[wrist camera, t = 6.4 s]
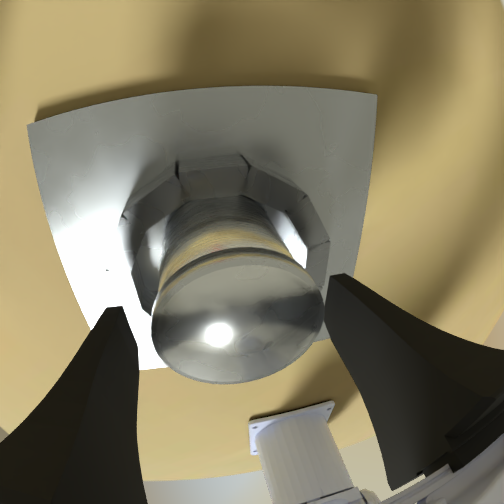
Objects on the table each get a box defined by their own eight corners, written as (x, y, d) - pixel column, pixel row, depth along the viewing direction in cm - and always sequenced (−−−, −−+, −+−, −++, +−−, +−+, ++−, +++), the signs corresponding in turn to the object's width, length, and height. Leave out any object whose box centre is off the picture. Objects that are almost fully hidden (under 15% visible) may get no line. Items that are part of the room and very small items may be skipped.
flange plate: (334, 329, 18) (348, 354, 16) (114, 363, 16) (112, 392, 14) (369, 93, 11) (401, 98, 9) (33, 122, 8) (6, 132, 6)
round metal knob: (282, 187, 12) (340, 252, 7) (273, 289, 14) (308, 371, 10) (152, 194, 11) (133, 268, 6) (166, 299, 13) (167, 390, 9)
